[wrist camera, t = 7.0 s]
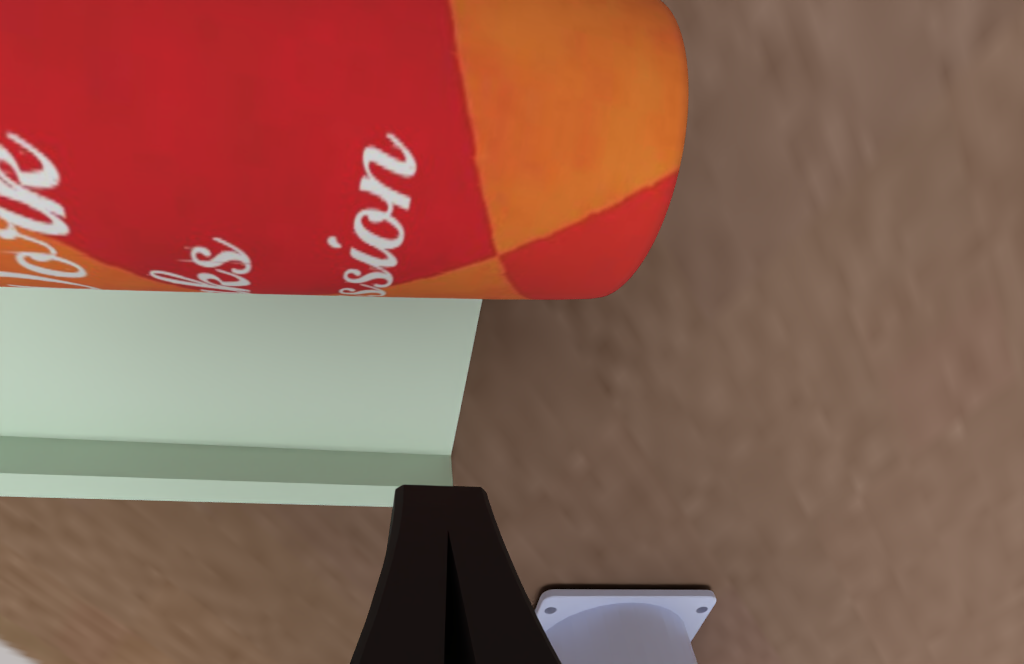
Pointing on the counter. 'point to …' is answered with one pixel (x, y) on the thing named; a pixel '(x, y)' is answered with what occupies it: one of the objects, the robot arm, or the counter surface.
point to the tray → (229, 395)
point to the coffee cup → (337, 145)
